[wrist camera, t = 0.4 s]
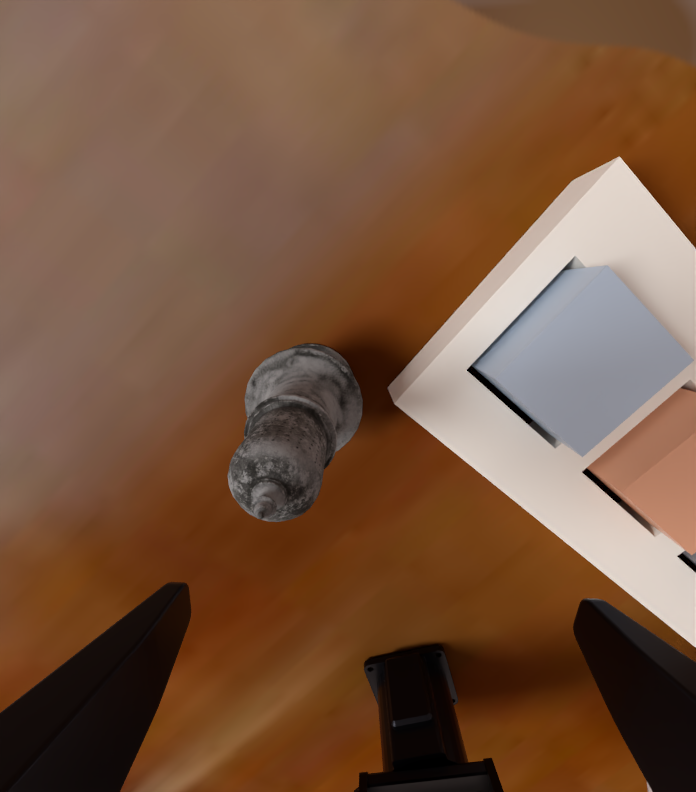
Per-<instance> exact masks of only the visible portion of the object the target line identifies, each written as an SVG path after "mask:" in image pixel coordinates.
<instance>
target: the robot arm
mask: <svg viewBox="0 0 696 792" xmlns="http://www.w3.org/2000/svg"><path fill="white" fill-rule="evenodd" d="M190 617H191V604H190V595H189V587H188V585H187V584H186V583H181V582H170V583H167V584H165V585H164V586H163V587H161V588H160V589H159V590H158V591H156V592H155V593H154V594H152V595H151V596H150V597H149V598H147V599H146V600H145V601H143V602H142V603H141V604H140V605H138V606H137V607H136V608H134V609H133V610H132V611H131V612H129V613H128V614H127V615H125V616H124V617H123V618H122V619H120V620H119V621H118V622H116V623H115V624H114V625H113V626H111V627H110V628H109V629H107V630H106V631H105V632H104V633H102V634H101V635H100V636H98V637H97V638H96V639H95V640H93V641H92V642H91V643H89V644H88V645H87V646H86V647H84V648H83V649H82V650H80V651H79V652H78V653H77V654H75V655H74V656H73V657H71V658H70V659H69V660H68V661H66V662H65V663H64V664H62V665H61V666H60V667H59V668H57V669H56V670H55V671H53V672H52V673H51V674H50V675H48V676H47V677H46V678H44V679H43V680H42V681H41V682H39V683H38V684H37V685H35V686H34V687H33V688H32V689H30V690H29V691H28V692H27V693H25V694H24V695H23V696H21V697H20V698H19V699H18V700H16V701H15V702H14V703H12V704H11V705H10V706H9V707H7V708H6V709H5V710H3V711H2V712H1V713H0V792H120V790H121V788H122V786H123V784H124V781H125V779H126V777H127V775H128V773H129V771H130V768H131V766H132V764H133V762H134V760H135V757H136V755H137V753H138V751H139V749H140V746H141V744H142V742H143V740H144V738H145V736H146V733H147V731H148V729H149V727H150V725H151V722H152V720H153V718H154V716H155V713H156V711H157V709H158V706H159V704H160V701H161V699H162V696H163V693H164V691H165V688H166V685H167V682H168V680H169V677H170V674H171V671H172V669H173V666H174V663H175V660H176V658H177V655H178V652H179V649H180V647H181V644H182V641H183V638H184V636H185V633H186V630H187V627H188V624H189V621H190ZM573 630H574V635H575V638H576V640H577V642H578V644H579V647H580V649H581V651H582V653H583V655H584V657H585V660H586V662H587V664H588V666H589V668H590V670H591V673H592V675H593V677H594V679H595V681H596V683H597V686H598V688H599V690H600V692H601V694H602V696H603V699H604V701H605V703H606V705H607V707H608V709H609V711H610V713H611V715H612V718H613V720H614V722H615V724H616V725H617V727H618V729H619V731H620V733H621V735H622V737H623V739H624V741H625V742H626V744H627V746H628V748H629V750H630V751H631V753H632V755H633V757H634V759H635V761H636V762H637V764H638V766H639V768H640V770H641V771H642V773H643V775H644V777H645V779H646V780H647V782H648V784H649V786H650V788H651V790H652V791H653V792H696V662H694V661H693V660H691V659H690V658H688V657H687V656H685V655H684V654H682V653H681V652H679V651H678V650H677V649H675V648H674V647H672V646H671V645H669V644H668V643H666V642H665V641H663V640H662V639H660V638H659V637H657V636H656V635H654V634H653V633H651V632H650V631H649V630H647V629H646V628H644V627H643V626H641V625H640V624H638V623H637V622H635V621H634V620H632V619H631V618H629V617H628V616H626V615H625V614H623V613H622V612H621V611H619V610H618V609H616V608H615V607H613V606H612V605H610V604H609V603H607V602H606V601H604V600H601V599H583V600H582V601H581V602H580V604H579V608H578V611H577V614H576V618H575V621H574V625H573ZM364 671H365V673H366V676H367V678H368V681H369V683H370V686H371V688H372V691H373V693H374V696H375V698H376V701H377V703H378V707H379V720H380V734H381V747H382V761H383V772H380V773H371V774H368V772H362V773H359V787H358V788H357V789H356V790H354V792H504V791H503V789H502V786H501V783H500V780H499V777H498V775H497V772H496V769H495V766H494V763H493V760H492V758H486V759H483V761H478V762H469V763H468V759H467V755H466V751H465V747H464V744H463V740H462V736H461V732H460V728H459V724H458V720H457V716H456V713H455V709H454V705H455V704H456V703H457V702H458V698H457V694H456V690H455V687H454V684H453V680H452V677H451V673H450V670H449V666H448V663H447V659H446V656H445V652H444V649H443V647H442V646H439V645H436V646H431V647H426V648H422V649H417V650H412V651H407V652H403V653H398V654H393V655H388V656H384V657H379V658H374V659H369V660H366V661H365V662H364Z"/></svg>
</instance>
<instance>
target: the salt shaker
mask: <svg viewBox="0 0 696 792" xmlns="http://www.w3.org/2000/svg"><path fill="white" fill-rule="evenodd" d="M362 403H363V400H362V396H361V392H360V388H359V385H358V383H357V381H356V379H355V377H354V376H353V372H352V370H351V368H350V366H349V365H348V363H347V361H346V360H345V359H344V358H343V357H342V356H341V355H340V354H339V353H337V352H336V351H334V350H332V349H331V348H329V347H326V346H322V345H319V344H302V345H298V346H294V347H292V348H290V349H288V350H284V351H280V352H278V353H276V354H274V355H273V356H271V357H269V358H267V359H266V360H265V361H264V362H263V363H262V364H261V365H260V366H259V367H258V368H257V369H256V370H255V371H254V373H253V375H252V377H251V378H250V380H249V382H248V384H247V389H246V394H245V409H246V415H247V417H248V419H247V421H246V425H245V430H244V437H245V439H244V441H243V442H242V443H241V445H240V446H239V447H238V449H237V450H236V452H235V454H234V456H233V458H232V459H231V463H230V467H229V472H228V482H229V488H230V490H231V492H232V495H233V497H234V498H235V500H236V501H237V502H238V503H239V505H240V506H241V507H242V508H243V509H244V510H245V511H246V512H248V513H249V514H250V515H252V516H254V517H256V518H258V519H262V520H266V521H273V522H280V521H285V520H290V519H294V518H296V517H298V516H300V515H302V514H303V513H305V512H306V511H307V510H308V509H309V508H310V507H311V506H312V504H313V503H314V501H315V500H316V498H317V496H318V495H319V492H320V488H321V485H322V478H323V471H324V469H325V468H326V467H327V466H328V465H329V464H330V462H331V460H332V459H333V457H334V455H335V452H336V451H338V450H340V449H341V448H342V447H343V446H344V445H345V444H346V443H348V442H349V441H350V439H351V438H352V436H353V435H354V433H355V432H356V430H357V429H358V426H359V423H360V420H361V417H362Z"/></svg>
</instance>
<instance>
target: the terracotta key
mask: <svg viewBox="0 0 696 792" xmlns="http://www.w3.org/2000/svg"><path fill="white" fill-rule="evenodd" d="M587 469H588V470H589V471H590V472H591V473H592V474H594V475H595V476H596V477H597V478H598V479H599V480H600V481H601V482H603V483H604V484H605V485H606V486H607V487H608V488H609V489H610V490H612V491H613V492H614V493H615V494H616V495H617V496H618V497H619V498H620V499H622V500H623V501H624V502H625V503H626V504H627V505H628V506H629V507H631V508H632V509H633V510H634V511H635V512H636V513H637V514H638V515H640V516H641V517H642V518H643V519H644V520H646V521H647V522H648V523H650V524H651V525H652V526H654V527H655V528H656V529H658V530H659V531H660V532H662V533H663V534H664V535H665V536H667V537H668V538H669V539H671V540H672V541H673V542H675V543H676V544H677V545H679V546H680V547H681V548H683V549H684V550H685V551H687V552H688V553H689V554H691V555H693V554H694V553H696V392H693V391H689V390H686V389H682V388H679V389H678V390H677V391H676V392H675V393H674V394H672V395H671V396H670V397H669V398H668V399H667V400H665V401H664V402H663V403H662V404H661V405H660V406H658V407H657V408H656V409H655V410H654V411H652V412H651V413H650V414H649V415H648V416H647V417H645V418H644V419H643V420H642V421H641V422H640V423H638V424H637V425H636V426H635V427H634V428H633V429H631V430H630V431H629V432H628V433H627V434H626V435H624V436H623V437H622V438H621V439H620V440H619V441H617V442H616V443H615V444H614V445H613V446H612V447H610V448H609V449H608V450H607V451H606V452H605V453H603V454H602V455H601V456H600V457H599V458H597V459H596V460H595V461H594V462H593V463H592V464H590V465H589V466H588V467H587Z"/></svg>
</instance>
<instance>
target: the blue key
mask: <svg viewBox="0 0 696 792" xmlns="http://www.w3.org/2000/svg"><path fill="white" fill-rule="evenodd" d="M693 361H694V360H693V359H692V357H691V356H690V355H689V354H688V353H687V352H686V351H685V350H684V349H683V348H682V347H681V345H680V344H679V343H678V342H677V341H676V340H675V339H674V338H673V337H672V336H671V334H670V333H669V332H668V331H667V330H666V329H665V328H664V327H663V326H662V325H661V323H660V322H659V321H658V320H657V319H656V318H655V317H654V316H653V315H652V314H651V312H650V311H649V310H648V309H647V308H646V307H645V306H644V305H643V304H642V303H641V301H640V300H639V299H638V298H637V297H636V296H635V295H634V294H633V293H632V292H631V291H630V289H629V288H628V287H627V286H626V285H625V284H624V283H623V282H622V281H621V280H620V278H619V277H618V276H617V275H616V274H615V273H614V272H613V271H612V270H611V269H610V267H609V266H608V265H605V266H596V267H588V268H579V269H570V270H562V271H560V272H559V273H558V274H557V275H556V276H555V277H554V278H553V280H552V281H551V282H550V283H549V284H548V285H547V286H546V287H545V288H544V289H543V290H542V291H541V292H540V293H539V294H538V295H537V296H536V297H535V298H534V300H533V301H532V302H531V303H530V304H529V305H528V306H527V307H526V308H525V309H524V310H523V311H522V312H521V313H520V314H519V315H518V316H517V317H516V318H515V319H514V321H513V322H512V323H511V324H510V325H509V326H508V327H507V328H506V329H505V330H504V331H503V332H502V333H501V334H500V335H499V336H498V337H497V338H496V339H495V340H494V342H493V343H492V344H491V345H490V346H489V347H488V348H487V349H486V350H485V351H484V352H483V353H482V354H481V355H480V356H479V357H478V358H477V359H476V360H475V362H474V363H473V364H472V365H471V366H472V367H474V368H475V369H476V370H477V371H478V372H479V373H480V374H481V375H483V376H484V377H485V378H486V379H487V380H488V381H489V382H490V383H492V384H493V385H494V386H495V387H496V388H497V389H498V390H499V391H501V392H502V393H503V394H504V395H505V396H506V397H507V398H508V399H510V400H511V401H512V402H513V403H514V404H515V405H516V406H517V407H518V408H520V409H521V410H522V411H523V412H524V413H525V414H526V415H527V416H529V417H530V418H531V419H532V420H533V421H534V422H535V423H536V424H538V425H539V426H540V427H541V428H542V429H543V430H544V431H545V432H547V433H548V434H550V435H551V436H553V437H554V438H555V439H557V440H558V441H560V442H561V443H563V444H564V445H566V446H567V447H568V448H570V449H571V450H573V451H574V452H576V453H577V454H579V455H580V456H581V457H583V456H585V455H586V454H587V453H588V452H589V451H590V450H591V449H593V448H594V447H595V446H596V445H597V444H598V443H600V442H601V441H602V440H603V439H604V438H605V437H606V436H608V435H609V434H610V433H611V432H612V431H613V430H615V429H616V428H617V427H618V426H619V425H620V424H621V423H623V422H624V421H625V420H626V419H627V418H628V417H630V416H631V415H632V414H633V413H634V412H635V411H636V410H638V409H639V408H640V407H641V406H642V405H643V404H645V403H646V402H647V401H648V400H649V399H650V398H651V397H653V396H654V395H655V394H656V393H657V392H658V391H660V390H661V389H662V388H663V387H664V386H665V385H666V384H668V383H669V382H670V381H671V380H672V379H673V378H675V377H676V376H677V375H678V374H679V373H680V372H681V371H683V370H684V369H685V368H686V367H687V366H688V365H690V364H691V363H692V362H693Z"/></svg>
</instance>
